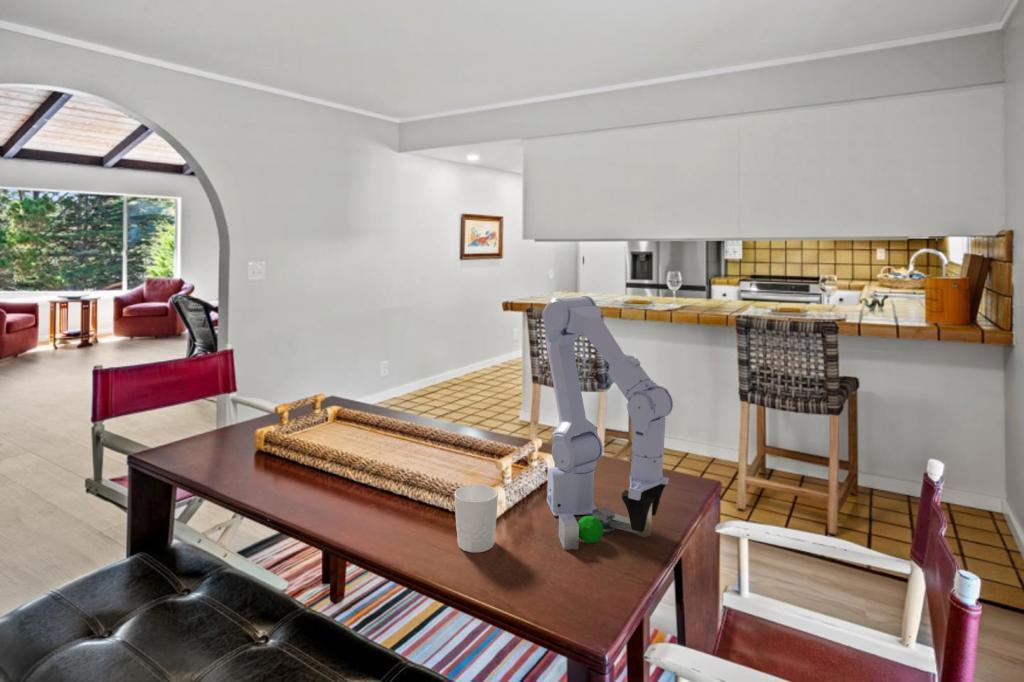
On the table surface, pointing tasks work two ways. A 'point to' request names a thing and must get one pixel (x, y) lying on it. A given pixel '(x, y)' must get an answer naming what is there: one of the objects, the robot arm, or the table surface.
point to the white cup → (476, 517)
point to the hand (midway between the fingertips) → (644, 522)
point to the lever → (620, 521)
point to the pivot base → (608, 530)
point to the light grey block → (568, 531)
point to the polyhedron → (590, 529)
